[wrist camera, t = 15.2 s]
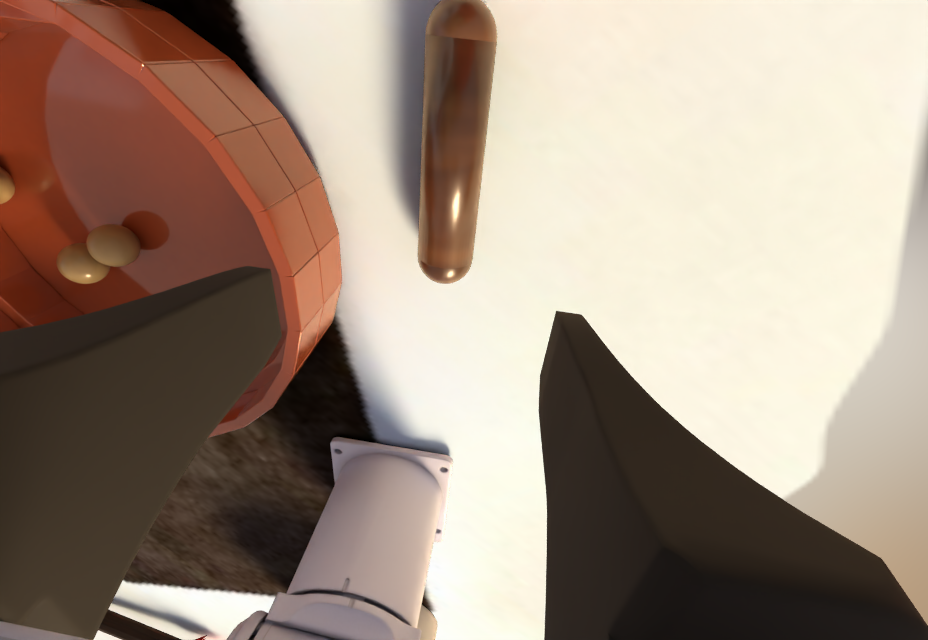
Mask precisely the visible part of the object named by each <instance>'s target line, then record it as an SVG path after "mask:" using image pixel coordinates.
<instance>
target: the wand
mask: <svg viewBox="0 0 928 640" xmlns="http://www.w3.org/2000/svg"><path fill="white" fill-rule="evenodd" d="M98 630H100V631H102V632H104V633H107V634H109V635H112V636H114V637H117V638H119V639H122V640H181V639H179V638H177V637H174V636H172V635H169V634H167V633H164V632H162V631H159V630H157V629H155V628H152V627H150V626H147V625H145V624H142V623H140V622H137V621H135V620H133V619H130V618H128V617H125V616H123V615H120V614H118V613H115V612H113V611H110V610H107V612H106V614H105V616H104V618H103V621H102V623H101V625H100V627H99V629H98ZM206 636H207V635H206ZM206 636H203V637H201V638H198V639H195V640H202V639H203V638H204V637H206ZM203 640H205V639H203Z"/></svg>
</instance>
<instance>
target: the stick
mask: <svg viewBox="0 0 928 640" xmlns="http://www.w3.org/2000/svg"><path fill="white" fill-rule="evenodd" d="M496 45H497V30H496V24H495V21H494V18H493V16H492V14H491V12H490V10H489V9H488V8H487V6H486V5H485V4H484V3H483V2H482V1H481V0H442V1H440V2H439V3H438V4H437V5H436V7H435V8H434V9H433V11H432V13H431V15H430V17H429V19H428V23H427V26H426V34H425V59H424V89H423V118H422V147H421V176H420V205H419V234H418V262H419V265H420V268H421V270H422V271H423V273H424V274H425V275H426V276H427V277H428V278H429V279H431V280H433V281H435V282H437V283H443V284H449V283H453V282H456V281H458V280H460V279H461V278H462V277H464V276H465V275H466V273H467V272H468V271H469V269H470V267H471V264H472V259H473V250H474V241H475V233H476V224H477V215H478V206H479V197H480V188H481V179H482V170H483V161H484V152H485V143H486V134H487V125H488V116H489V107H490V98H491V89H492V80H493V72H494V63H495V54H496Z"/></svg>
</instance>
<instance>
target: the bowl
mask: <svg viewBox="0 0 928 640" xmlns="http://www.w3.org/2000/svg"><path fill="white" fill-rule="evenodd" d="M0 167H1V168H3V169H4V170H5V171H7V172H8V173H9V174H10V176H11V177H12V179H13V181H14V183H15V192H14V195H13V196H12V198H11V199H10V200H8V201H7V202H5V203H3V204H0V332H5V331H10V330H15V329H21V328H26V327H32V326H37V325H42V324H46V323H51V322H55V321H59V320H63V319H68V318H72V317H76V316H80V315H84V314H88V313H92V312H96V311H100V310H103V309H107V308H110V307H114V306H117V305H120V304H124V303H127V302H130V301H133V300H137V299H140V298H143V297H147V296H150V295H153V294H157V293H160V292H163V291H166V290H169V289H172V288H175V287H178V286H181V285H184V284H187V283H190V282H193V281H196V280H199V279H202V278H205V277H208V276H211V275H214V274H217V273H221V272H224V271H227V270H231V269H235V268H239V267H244V266H253V267H259V268H266V269H271V275H272V280H273V286H274V292H275V298H276V303H277V309H278V315H279V321H280V327H281V332H282V336H281V338H280V340H279V342H278V344H277V346H276V348H275V349H274V351H273V353H272V355H271V356H270V358H269V360H268V361H267V363H266V365H265V366H264V368H263V369H262V370H261V372H260V373H259V374H258V375H257V377H256V378H255V379H254V381H253V382H252V383H251V384H250V386H249V387H248V388H247V389H246V391H245V392H244V393H243V394H242V396H241V397H240V398H239V399H238V401H237V402H236V403H235V404H234V406H233V407H232V408H231V409H230V411H229V412H228V413H227V414H226V416H225V417H224V418H223V419H222V421H221V422H220V423H219V424H218V425H217V427H216V428H215V429H214V430H213V432H212V433H211V434H210V436H209V437H212V436H216V435H219V434H223V433H226V432H230V431H234V430H237V429H241V428H243V427H245V426H247V425H248V424H250V423H251V422H253V421H254V420H255V419H257V418H258V417H260V416H261V415H263V414H264V413H266V412H267V411H268V410H270V409H271V408H273V407H274V406H275V404H276V403H277V401H278V400H279V399H280V397H281V396H282V394H283V393H284V392H285V390H286V389H287V387H288V386H289V385H290V383H291V382H292V380H293V379H294V378H295V376H296V375H297V373H298V372H299V371H300V369H301V368H302V366H303V365H304V364H305V362H306V361H307V359H308V358H309V357H310V355H311V354H312V352H313V351H314V350H315V348H316V346H317V345H318V343H319V342H320V340H321V339H322V337H323V336H324V334H325V333H326V331H327V329H328V328H329V326H330V325H331V323H332V321H333V318H334V314H335V310H336V305H337V301H338V297H339V293H340V288H341V284H342V273H341V259H340V245H339V233H338V229H337V226H336V223H335V220H334V217H333V214H332V211H331V208H330V205H329V202H328V199H327V196H326V193H325V190H324V187H323V184H322V181H321V178H320V177H319V174H318V172H317V171H316V169H315V167H314V166H313V164H312V162H311V161H310V159H309V157H308V156H307V154H306V152H305V151H304V149H303V147H302V146H301V144H300V142H299V141H298V139H297V137H296V136H295V134H294V132H293V131H292V129H291V127H290V126H289V124H288V122H287V121H286V119H285V118H284V117H283V115H282V114H281V113H280V112H279V111H278V109H277V108H276V107H275V106H274V105H273V104H272V103H271V102H270V101H269V99H268V98H267V97H266V96H265V95H264V94H263V93H262V92H261V91H260V90H259V88H258V87H257V86H256V85H255V84H254V83H253V82H252V81H251V80H250V79H249V77H248V76H247V75H246V74H245V73H244V72H243V71H242V70H241V69H240V68H239V66H238V65H237V64H236V63H235V62H234V61H233V60H231V59H230V58H229V57H228V56H226V55H225V54H224V53H222V52H221V51H220V50H218V49H217V48H215V47H214V46H213V45H211V44H210V43H209V42H207V41H206V40H205V39H203V38H202V37H200V36H199V35H198V34H196V33H195V32H194V31H192V30H191V29H189V28H188V27H187V26H185V25H184V24H183V23H181V22H180V21H179V20H177V19H176V18H174V17H173V16H172V15H170V14H168V13H167V12H165V11H163V10H161V9H158V8H156V7H153V6H151V5H149V4H146V3H144V2H142V1H139V0H0ZM105 224H116V225H121V226H123V227H126V228H128V229H129V230H131V231H132V232H133V233H134V234H135V235H136V236H137V237H138V239H139V241H140V246H141V250H140V254H139V256H138V257H137V259H136V260H135V261H133V262H132V263H130V264H128V265H125V266H120V267H113V266H110V270H109V272H108V274H107V275H106V277H104V278H103V279H102V280H100V281H98V282H95V283H90V284H82V283H77V282H73V281H71V280H69V279H67V278H66V277H64V276H63V275H62V274H61V273H60V271H59V270H58V267H57V264H56V260H57V256H58V254H59V252H60V251H61V250H62V249H63V248H65V247H66V246H68V245H71V244H75V243H86V241H87V237H88V235H89V233H90V232H91V231H92V230H93V229H95V228H96V227H98V226H101V225H105ZM209 437H208V438H209Z"/></svg>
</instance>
